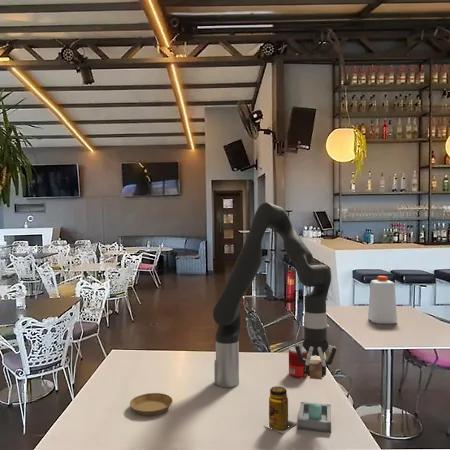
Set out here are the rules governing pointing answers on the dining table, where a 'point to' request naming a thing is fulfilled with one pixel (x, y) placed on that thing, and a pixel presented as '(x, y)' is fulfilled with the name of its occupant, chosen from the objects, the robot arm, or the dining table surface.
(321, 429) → the collection tray
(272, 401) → the condiment
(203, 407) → the dining table surface
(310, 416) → the teal cylinder
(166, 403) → the plant saucer
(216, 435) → the dining table surface
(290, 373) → the canned food
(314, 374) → the walnut block
